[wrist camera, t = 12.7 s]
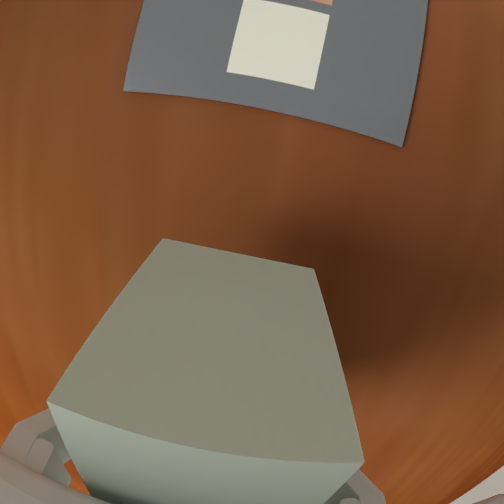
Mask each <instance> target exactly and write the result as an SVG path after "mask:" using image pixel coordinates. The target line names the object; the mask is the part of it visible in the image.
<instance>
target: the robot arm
mask: <svg viewBox="0 0 504 504" xmlns="http://www.w3.org/2000/svg"><path fill="white" fill-rule="evenodd" d="M70 459H71V457H70V455H69V453H68V451H67V448H66V446H65V444H64V442H63V440H62V438H61V435H60V433H59V431H58V428H57V426H56V424H55V421H54V419H53V416H52V414H51V411H50V409H49V408H48V409H46V410H44V411H42V412H39V413H37V414H35V415H33V416H31V417H29V418H27V419H24V420H22V421H20V422H18V423H16V424H15V426H14V427H13V429H12V430H11V432H10V434H9V435H8V437H7V439H6V440H5V442H4V444H3V445H2V447H1V449H0V504H112V503H109V502H106V501H103V500H101V499H98V498H95V497H92V496H90V495H87V494H85V493H82V492H80V491H77V490H75V489H72V488H70V487H69V485H70V482H71V480H72V479H71V476H70V474H69V473H68V471H67V469H66V468H65V466H64V463H65V462H67V461H68V460H70ZM323 504H386V501H385V497H384V494H383V493H382V492H381V491H380V490H379V489H378V488H377V487H376V486H375V485H374V484H373V483H372V482H371V481H370V480H369V479H368V478H367V477H366V476H365V475H364V474H363V473H362V472H361V471H360V470H359V469H358V470H357V471H356V472H355V473H354V474H353V475H352V476H351V477H350V478H349V479H348V480H347V481H346V482H345V483H344V484H343V485H342V486H341V487H340V488H339V489H338V490H337V491H336V492H335V493H334V494H333V495H332V496H331V497H330V498H329V499H328V500H327V501H326V502H324V503H323ZM474 504H504V494H498V495H495V496H492V497H490V498H488V499H485V500H482V501H479V502H477V503H474Z"/></svg>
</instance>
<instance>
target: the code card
mask: <svg viewBox="0 0 504 504" xmlns="http://www.w3.org/2000/svg"><path fill="white" fill-rule="evenodd" d="M427 5H428V0H144V3H143V6H142V10H141V14H140V17H139V21H138V25H137V29H136V32H135V36H134V41H133V45H132V49H131V54H130V58H129V63H128V67H127V72H126V78H125V83H124V88H123V91H131V92H145V93H157V94H167V95H177V96H185V97H193V98H201V99H208V100H215V101H221V102H227V103H233V104H239V105H245V106H250V107H255V108H260V109H265V110H270V111H275V112H279V113H284V114H288V115H293V116H297V117H301V118H305V119H309V120H313V121H317V122H321V123H325V124H328V125H332V126H336V127H339V128H343V129H346V130H350V131H353V132H356V133H360V134H363V135H366V136H369V137H372V138H375V139H379V140H382V141H385V142H388V143H390V144H393V145H396V146H399V147H402V145H403V141H404V137H405V133H406V129H407V125H408V120H409V116H410V111H411V107H412V102H413V97H414V92H415V87H416V82H417V76H418V70H419V65H420V59H421V52H422V46H423V39H424V31H425V23H426V15H427Z"/></svg>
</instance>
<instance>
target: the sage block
mask: <svg viewBox="0 0 504 504" xmlns="http://www.w3.org/2000/svg"><path fill="white" fill-rule="evenodd" d="M47 403H48V406H49V409H50V411H51V414H52V416H53V419H54V421H55V424H56V426H57V428H58V431H59V433H60V435H61V438H62V440H63V442H64V444H65V446H66V448H67V451H68V453H69V455H70V457H71V459H72V461H73V463H74V465H75V467H76V469H77V471H78V473H79V474H80V476H81V478H82V480H83V482H84V484H85V486H86V487H87V489H88V491H89V493H90V494H91V496H92V497H95V498H98V499H101V500H103V501H106V502H109V503H112V504H323V503H324V502H326V501H327V500H328V499H329V498H330V497H331V496H332V495H333V494H334V493H335V492H336V491H337V490H338V489H339V488H340V487H341V486H342V485H343V484H344V483H345V482H346V481H347V480H348V479H349V478H350V477H351V476H352V475H353V474H354V473H355V472H356V471H357V470H358V469H359V468H360V467H361V466H362V465H363V463H364V457H363V453H362V448H361V443H360V439H359V435H358V430H357V426H356V422H355V417H354V413H353V409H352V405H351V401H350V397H349V393H348V389H347V385H346V381H345V377H344V373H343V369H342V365H341V362H340V358H339V354H338V350H337V347H336V343H335V339H334V336H333V332H332V329H331V325H330V321H329V318H328V314H327V311H326V307H325V304H324V301H323V297H322V294H321V290H320V287H319V284H318V280H317V277H316V274H315V270H314V269H312V268H307V267H302V266H297V265H292V264H288V263H283V262H278V261H273V260H268V259H263V258H258V257H253V256H248V255H243V254H238V253H233V252H228V251H223V250H219V249H214V248H209V247H204V246H199V245H194V244H189V243H184V242H180V241H175V240H170V239H165V238H163V239H162V240H161V241H160V242H159V244H158V245H157V246H156V247H155V249H154V250H153V251H152V252H151V254H150V255H149V256H148V257H147V259H146V260H145V261H144V263H143V264H142V265H141V266H140V268H139V269H138V270H137V272H136V273H135V274H134V275H133V277H132V278H131V279H130V281H129V282H128V283H127V285H126V286H125V287H124V289H123V290H122V291H121V293H120V294H119V295H118V297H117V298H116V299H115V301H114V302H113V303H112V305H111V306H110V308H109V309H108V310H107V312H106V313H105V314H104V316H103V317H102V319H101V320H100V321H99V323H98V324H97V326H96V327H95V328H94V330H93V331H92V333H91V334H90V336H89V337H88V338H87V340H86V341H85V343H84V344H83V346H82V347H81V349H80V350H79V351H78V353H77V354H76V356H75V357H74V359H73V360H72V362H71V363H70V365H69V366H68V368H67V369H66V371H65V372H64V374H63V376H62V377H61V379H60V380H59V382H58V383H57V385H56V386H55V388H54V390H53V391H52V393H51V394H50V396H49V398H48V399H47Z"/></svg>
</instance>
